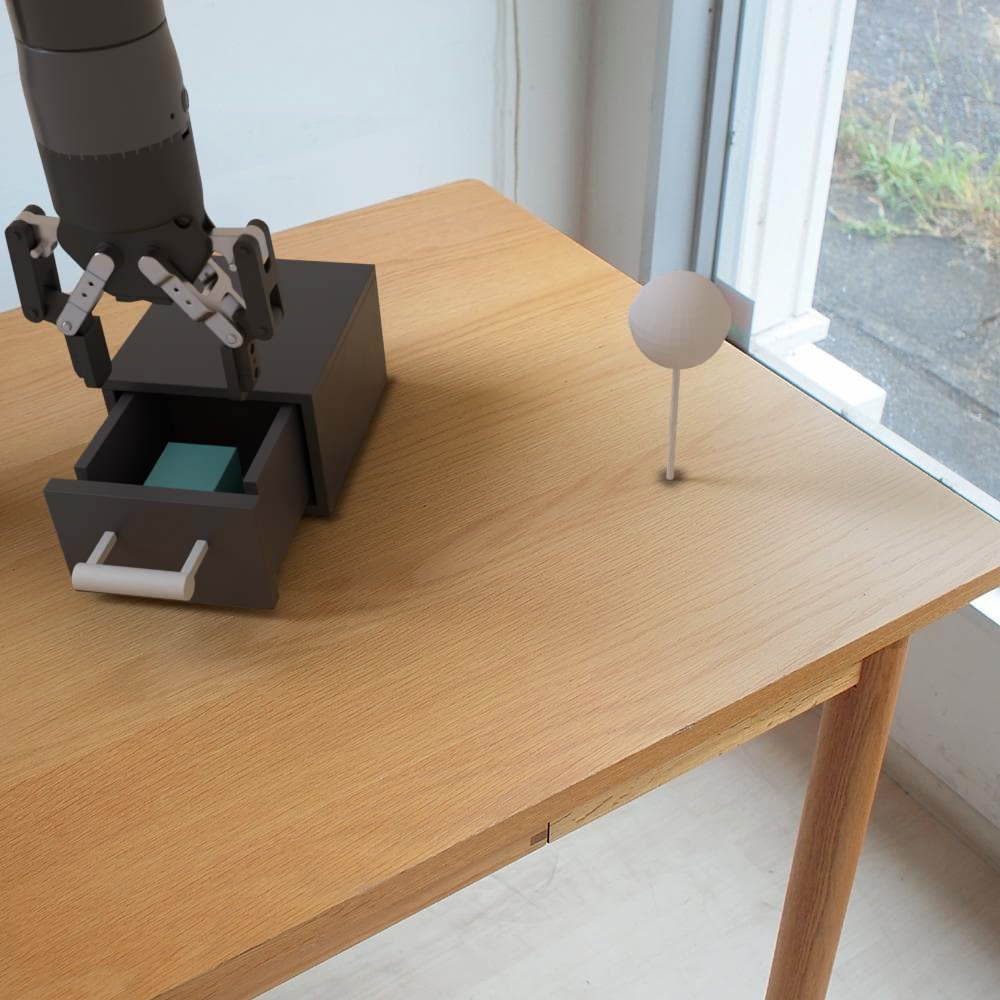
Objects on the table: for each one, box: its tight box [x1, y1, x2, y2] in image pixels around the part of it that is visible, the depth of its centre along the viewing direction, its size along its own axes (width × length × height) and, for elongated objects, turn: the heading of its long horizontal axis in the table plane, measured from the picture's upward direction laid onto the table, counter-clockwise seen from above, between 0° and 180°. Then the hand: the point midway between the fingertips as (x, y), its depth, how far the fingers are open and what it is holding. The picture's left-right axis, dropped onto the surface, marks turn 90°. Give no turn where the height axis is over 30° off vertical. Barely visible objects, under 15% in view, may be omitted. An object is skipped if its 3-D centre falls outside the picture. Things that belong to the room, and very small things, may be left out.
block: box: [143, 442, 245, 494], centre depth 80 cm, size 4×4×4 cm
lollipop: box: [627, 269, 733, 481], centre depth 82 cm, size 6×6×15 cm
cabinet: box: [100, 254, 388, 517], centre depth 89 cm, size 16×14×10 cm
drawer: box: [42, 391, 314, 612], centre depth 79 cm, size 19×12×8 cm, turn 170°
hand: (171, 386), depth 75 cm, fingers open, 8 cm apart
